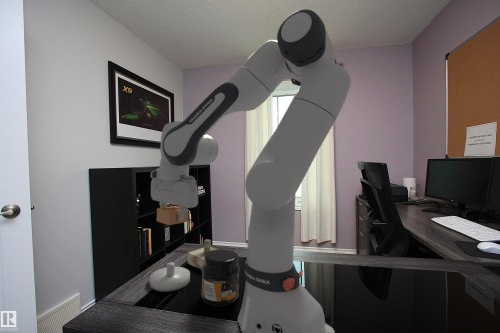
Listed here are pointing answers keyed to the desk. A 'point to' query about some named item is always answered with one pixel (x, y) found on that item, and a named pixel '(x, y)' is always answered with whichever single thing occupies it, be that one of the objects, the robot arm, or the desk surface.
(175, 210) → the orange square hollow block
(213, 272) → the supplement container
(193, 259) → the stand
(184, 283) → the hub
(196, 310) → the desk surface
